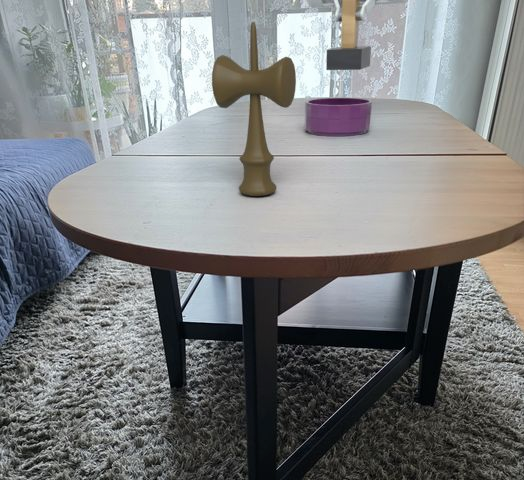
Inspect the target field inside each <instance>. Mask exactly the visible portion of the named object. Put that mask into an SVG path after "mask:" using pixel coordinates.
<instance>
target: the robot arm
mask: <svg viewBox="0 0 524 480" xmlns="http://www.w3.org/2000/svg"><path fill="white" fill-rule="evenodd" d="M306 1H307V3H308V6H309V7H310V8H312V9H315V8H333V7H334V8H335V14H334V17H335V18H334V19H335V22H336V23H342V0H306ZM405 2H407V0H359V7H357V11H356V21H359V22H364V21H365V19H366V16H367V15H368V13H370V12H371V11H372V9H374V8H375V5H391V4H393V5H394V4H403V3H405Z"/></svg>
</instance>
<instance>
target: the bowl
mask: <svg viewBox="0 0 524 480" xmlns="http://www.w3.org/2000/svg"><path fill="white" fill-rule="evenodd" d="M372 109H373V100H371V99H368V98H367V99H366V98H360V97H359V98H357V97H323V98H314V99H308V100H306V101H305V102H304V129H305V130H307V132H308V134H310V135H313V136H314V135H315V136H321V137H352V136H360V135H364V134H366V133H367V131H368V130H370V128H371V123H372V122H371V121H372Z"/></svg>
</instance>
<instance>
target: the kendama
mask: <svg viewBox="0 0 524 480" xmlns="http://www.w3.org/2000/svg"><path fill="white" fill-rule="evenodd" d="M249 32H250V36H249V39H250V40H249V44H250V45H249V49H250V50H249V53H250V54H249V55H250V57H249V59H250V60H249V65H250V66H249V69H246V68H244V67H242V66H241V65H239V64H238V63H237V62H236V61H234V59H232V58H231V57H230V56H227V55H224V54H221V55H220V56H217V57H216V59H215V61H214V62H213V67H212V73H211V89H212V93H213V97H214V100H215V103H216V104H217V106H218V107H219V108H221V109H227V108H229V107H231V106H232V105H233V104H235V103H236V102H237V101H238V100H240V99H242V98H243V97H245V96H249V113H248V125H247V135H246V143H245V148H244V152H243V153H242V155H240V157H238V158H239V161H240V163H241V164H242V166H243V178H242V182H241V183H240V185H238V191H239V192H240V193H241V194H242V195H245V196H250V197H262V196H268V195H271V194H274V192H275V191H276V190H277V185H276V183H275V182H273V181H272V177H271V165H272V162H273V161H274V159H275V156H274V155H273V154H271V152H270V150H269V148H268V144H267V138H266V132H265V125H264V119H263V109H262V101H261V100H262V99H261V98H262V97H261V96H263V97H265V98H267V99H268V100H270V101H272V102H273V103H275V104H276V105H277V106H279V107H281V108H284V109H287V108H289V107H290V106H291V105H292V103H293V102H294V99H295V95H296V87H297V75H296V73H297V72H296V67H295V66H296V65H295V64H294V62H293V59H292V58H291V57H289V56H284V57H282V58H280V59H279V60H277V61H276V62H274V63H272V64H271V65H270V66H268V67H266V68H263V69H259V52H258V51H259V50H258V33H257V25H256V22H255V21H251V24H250V31H249Z"/></svg>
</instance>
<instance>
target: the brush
mask: <svg viewBox="0 0 524 480" xmlns="http://www.w3.org/2000/svg"><path fill="white" fill-rule="evenodd" d="M359 6H360V5H359V0H342V22H341V33H340V35H341V37H340V46H337V47H331V48H328V49H326V71H354V70H356V71H357V70H358V71H360V70H363V69H366V68H368V67H370V66H371V55H372V54H371V52H372V46H371V45H362V46H361V45H359V46H358V39H359V22H360V21H356V11H357V7H359Z"/></svg>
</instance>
